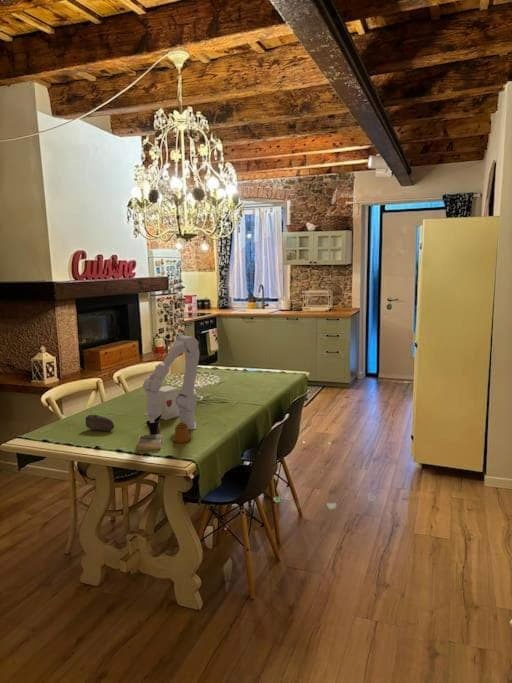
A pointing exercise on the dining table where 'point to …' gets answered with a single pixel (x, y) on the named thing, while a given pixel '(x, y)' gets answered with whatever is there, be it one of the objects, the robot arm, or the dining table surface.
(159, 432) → the walnut block
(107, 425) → the perforated stone tool
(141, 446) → the wooden framed grey panel
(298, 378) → the dining table surface
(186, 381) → the robot arm
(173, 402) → the supplement box
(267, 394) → the dining table surface
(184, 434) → the ornamental finial
